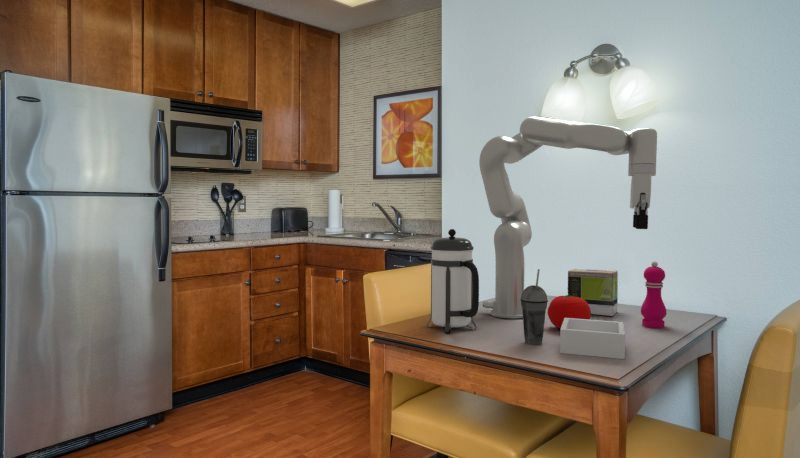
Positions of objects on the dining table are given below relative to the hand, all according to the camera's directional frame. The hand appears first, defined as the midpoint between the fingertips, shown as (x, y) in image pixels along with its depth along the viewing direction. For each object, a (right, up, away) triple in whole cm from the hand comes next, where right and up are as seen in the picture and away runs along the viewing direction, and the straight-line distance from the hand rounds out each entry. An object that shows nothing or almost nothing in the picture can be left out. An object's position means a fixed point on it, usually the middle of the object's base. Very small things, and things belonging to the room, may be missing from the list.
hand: (640, 228), depth 162 cm
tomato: (-21, -31, +1) cm, 37 cm away
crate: (-22, -31, -21) cm, 44 cm away
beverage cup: (-36, -31, -15) cm, 50 cm away
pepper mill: (+6, -30, +5) cm, 31 cm away
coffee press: (-55, -30, +1) cm, 63 cm away
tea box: (-5, -29, +26) cm, 40 cm away
